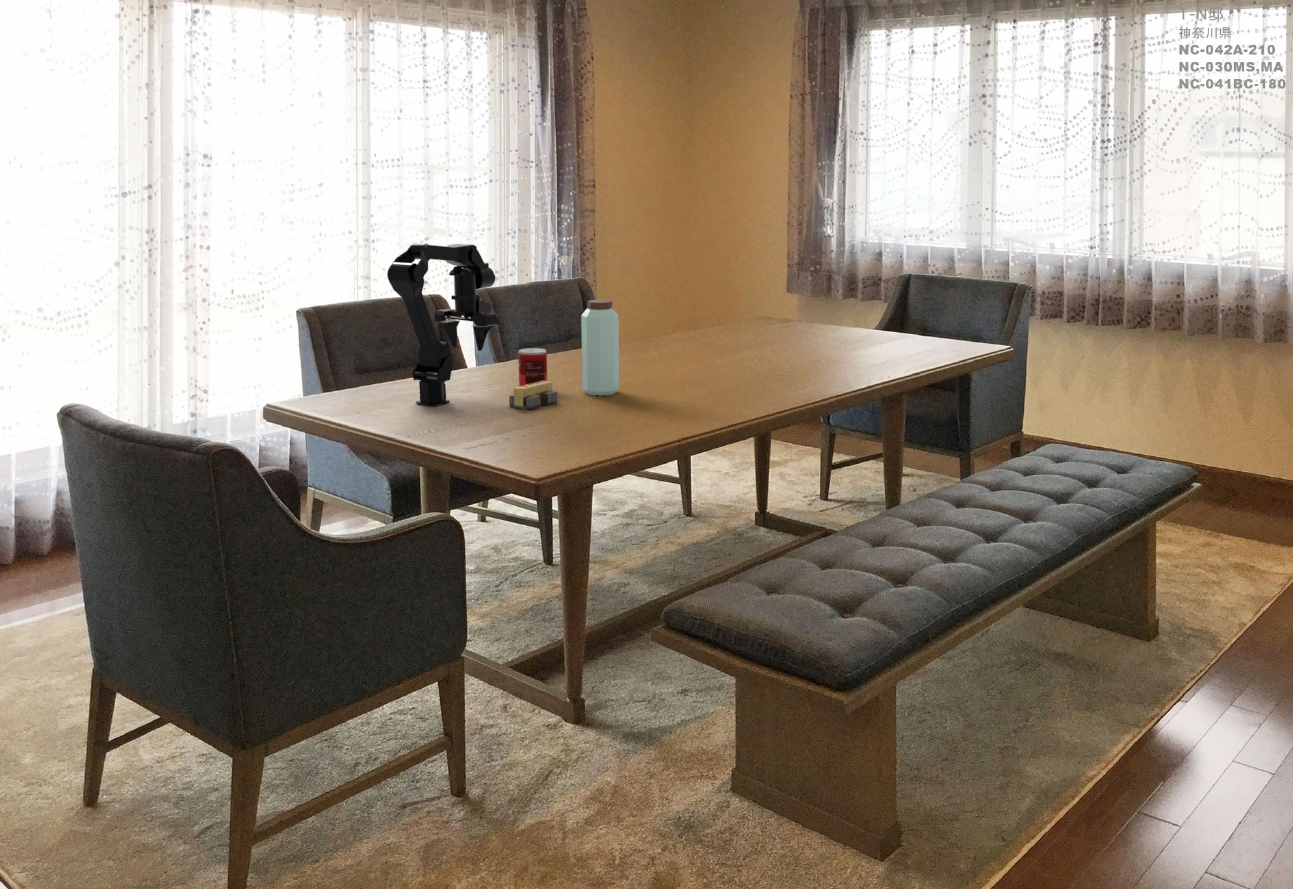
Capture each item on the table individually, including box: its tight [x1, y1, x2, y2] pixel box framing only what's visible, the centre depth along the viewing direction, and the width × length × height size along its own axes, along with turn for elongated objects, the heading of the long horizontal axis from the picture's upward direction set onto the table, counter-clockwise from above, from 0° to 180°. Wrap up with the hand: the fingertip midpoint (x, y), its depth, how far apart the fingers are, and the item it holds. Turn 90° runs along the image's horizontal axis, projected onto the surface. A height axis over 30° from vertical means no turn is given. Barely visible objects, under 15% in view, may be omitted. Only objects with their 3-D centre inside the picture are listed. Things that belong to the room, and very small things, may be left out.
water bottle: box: [580, 299, 620, 397], centre depth 336 cm, size 10×10×25 cm
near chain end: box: [508, 393, 541, 411], centre depth 321 cm, size 4×7×3 cm, turn 55°
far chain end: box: [540, 390, 558, 406], centre depth 326 cm, size 4×7×3 cm, turn 55°
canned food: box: [517, 347, 548, 387], centre depth 342 cm, size 8×8×11 cm
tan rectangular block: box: [513, 380, 553, 406], centre depth 323 cm, size 12×3×4 cm, turn 145°
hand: (467, 349), depth 337 cm, fingers open, 9 cm apart
